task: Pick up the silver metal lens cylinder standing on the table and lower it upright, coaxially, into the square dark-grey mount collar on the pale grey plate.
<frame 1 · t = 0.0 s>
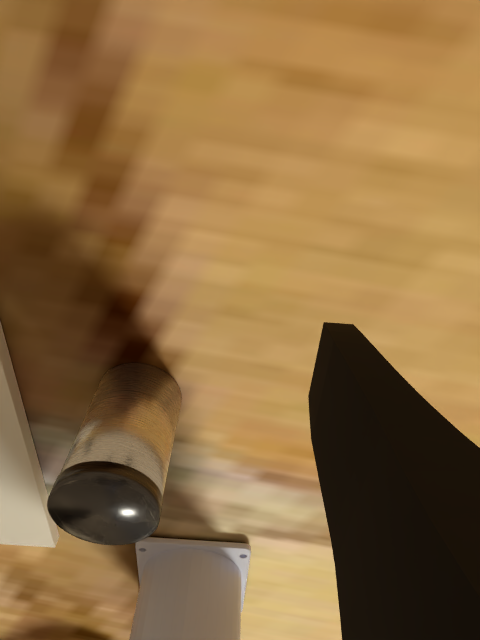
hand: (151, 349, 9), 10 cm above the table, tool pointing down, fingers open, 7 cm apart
lens: (140, 394, 24), on the table
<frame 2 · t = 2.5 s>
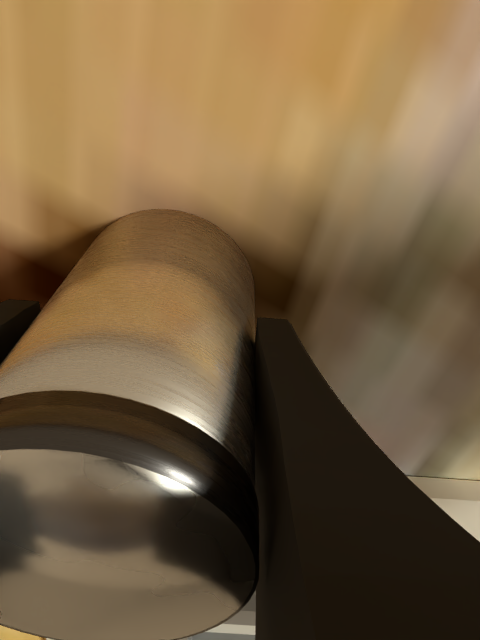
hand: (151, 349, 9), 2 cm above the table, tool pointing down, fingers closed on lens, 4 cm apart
lens: (169, 292, 11), on the table, touching gripper
mount plate: (267, 581, 19), on the table
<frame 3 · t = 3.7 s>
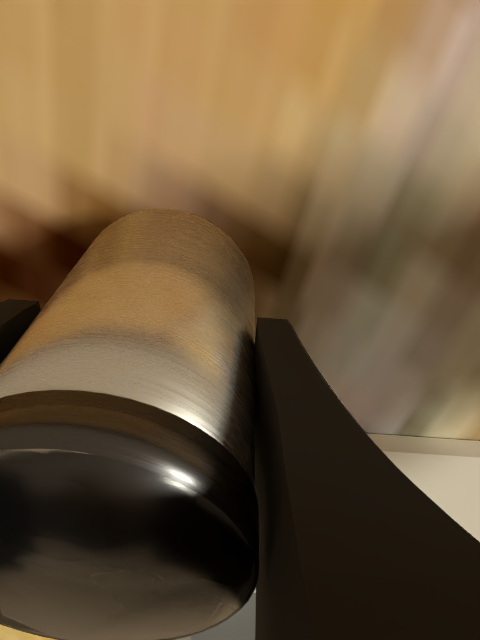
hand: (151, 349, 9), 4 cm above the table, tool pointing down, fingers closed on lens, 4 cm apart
lens: (169, 292, 11), point 2 cm above the table, touching gripper
mount plate: (265, 541, 21), on the table
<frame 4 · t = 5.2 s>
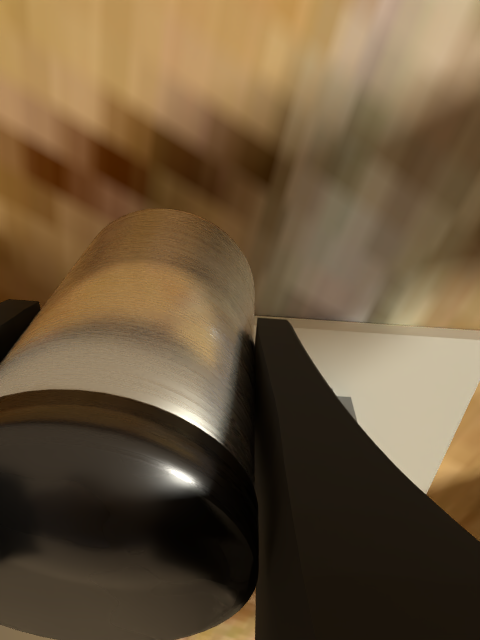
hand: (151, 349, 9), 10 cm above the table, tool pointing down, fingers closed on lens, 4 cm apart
lens: (168, 291, 11), point 7 cm above the table, touching gripper
mount plate: (261, 430, 25), on the table
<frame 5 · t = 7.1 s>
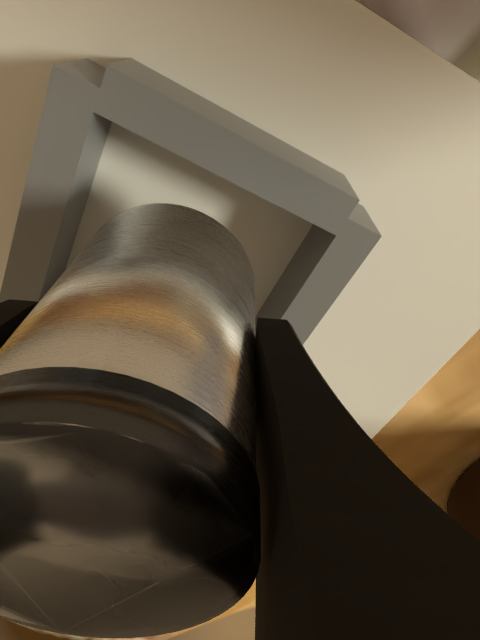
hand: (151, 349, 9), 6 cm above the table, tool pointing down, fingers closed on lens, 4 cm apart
lens: (169, 287, 11), point 3 cm above the table, touching gripper
mount plate: (187, 238, 14), on the table
when the fingers open (4 cm above the table, at t = 8.4 s): lens stays where it is, resting on mount plate.
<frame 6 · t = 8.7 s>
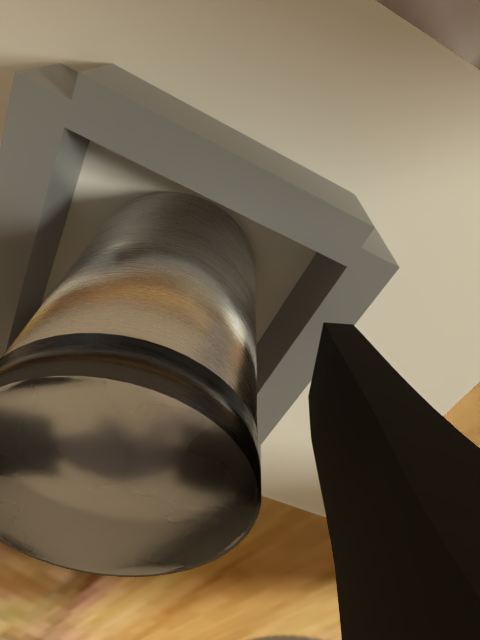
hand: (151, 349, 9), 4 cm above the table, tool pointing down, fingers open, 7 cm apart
lens: (175, 271, 12), point 1 cm above the table, touching mount plate
mount plate: (179, 262, 13), on the table
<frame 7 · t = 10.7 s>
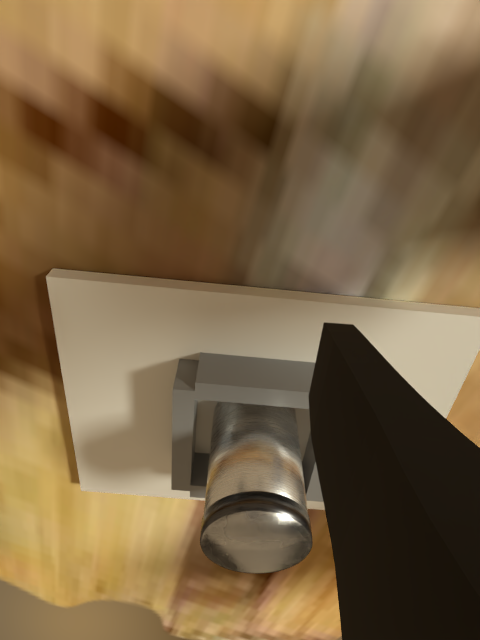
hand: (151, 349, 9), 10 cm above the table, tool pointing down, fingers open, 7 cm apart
lens: (254, 417, 24), point 1 cm above the table, touching mount plate
mount plate: (254, 407, 25), on the table
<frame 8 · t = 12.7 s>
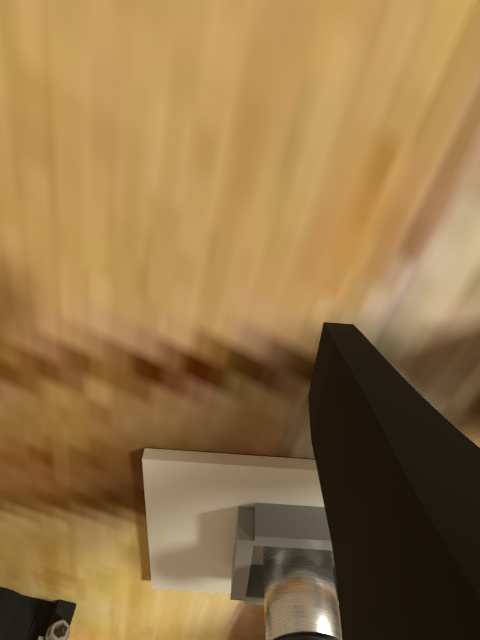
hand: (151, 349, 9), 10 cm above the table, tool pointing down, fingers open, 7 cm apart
lens: (295, 542, 30), point 1 cm above the table, touching mount plate
mount plate: (294, 531, 31), on the table
scope: (15, 599, 38), on the table
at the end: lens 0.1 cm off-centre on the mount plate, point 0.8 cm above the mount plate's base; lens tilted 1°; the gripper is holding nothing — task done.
